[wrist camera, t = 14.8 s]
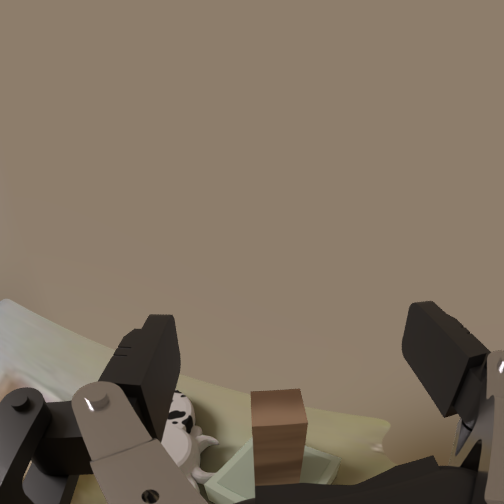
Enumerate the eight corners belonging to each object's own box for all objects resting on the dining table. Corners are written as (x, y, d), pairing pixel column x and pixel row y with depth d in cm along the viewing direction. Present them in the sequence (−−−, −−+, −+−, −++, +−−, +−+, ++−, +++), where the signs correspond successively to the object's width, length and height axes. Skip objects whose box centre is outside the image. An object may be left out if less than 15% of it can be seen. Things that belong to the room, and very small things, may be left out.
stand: (292, 542, 22) (295, 529, 21) (208, 500, 28) (203, 483, 27) (336, 475, 31) (342, 456, 30) (260, 446, 37) (260, 426, 35)
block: (298, 486, 26) (307, 422, 23) (255, 490, 26) (252, 426, 23) (293, 456, 30) (299, 388, 27) (253, 459, 30) (250, 391, 27)
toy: (64, 496, 25) (223, 507, 26) (48, 472, 24) (216, 484, 25) (107, 406, 46) (220, 403, 48) (99, 384, 45) (216, 379, 47)
